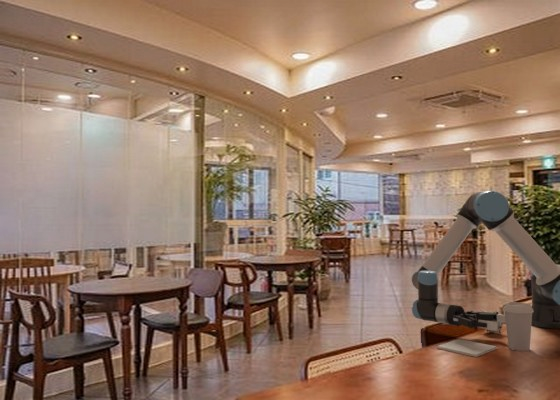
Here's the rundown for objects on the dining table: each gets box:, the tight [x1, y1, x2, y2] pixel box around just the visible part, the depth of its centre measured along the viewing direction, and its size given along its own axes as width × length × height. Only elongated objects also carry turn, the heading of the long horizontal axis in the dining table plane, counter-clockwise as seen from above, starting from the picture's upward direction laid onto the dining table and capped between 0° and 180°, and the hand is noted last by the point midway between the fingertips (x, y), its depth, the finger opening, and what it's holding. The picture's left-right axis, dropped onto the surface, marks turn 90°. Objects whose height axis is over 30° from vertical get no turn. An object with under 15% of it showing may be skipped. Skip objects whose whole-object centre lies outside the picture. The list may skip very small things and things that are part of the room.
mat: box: [436, 338, 497, 358], centre depth 167 cm, size 14×14×1 cm
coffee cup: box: [502, 301, 534, 352], centre depth 167 cm, size 10×10×15 cm
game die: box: [486, 311, 504, 335], centre depth 188 cm, size 9×8×10 cm
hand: (506, 323), depth 169 cm, fingers open, 13 cm apart
